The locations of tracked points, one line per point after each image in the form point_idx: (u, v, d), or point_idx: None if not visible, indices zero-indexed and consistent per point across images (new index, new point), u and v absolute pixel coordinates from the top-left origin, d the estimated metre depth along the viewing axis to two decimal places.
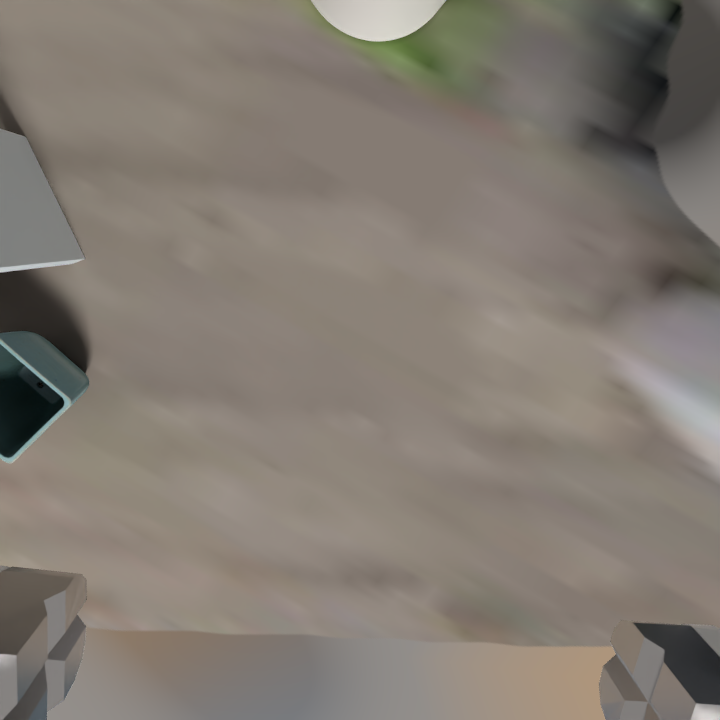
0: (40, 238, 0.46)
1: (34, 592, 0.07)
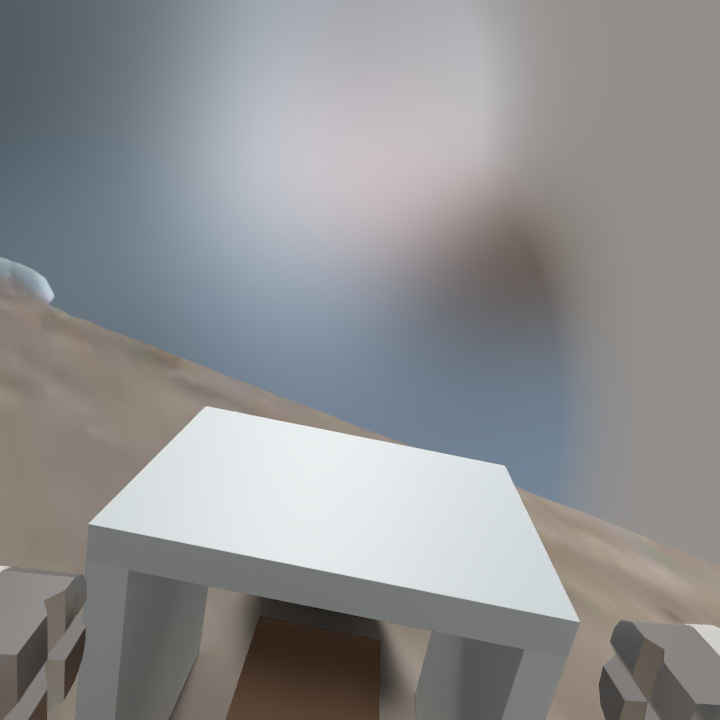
0: None
1: (34, 592, 0.07)
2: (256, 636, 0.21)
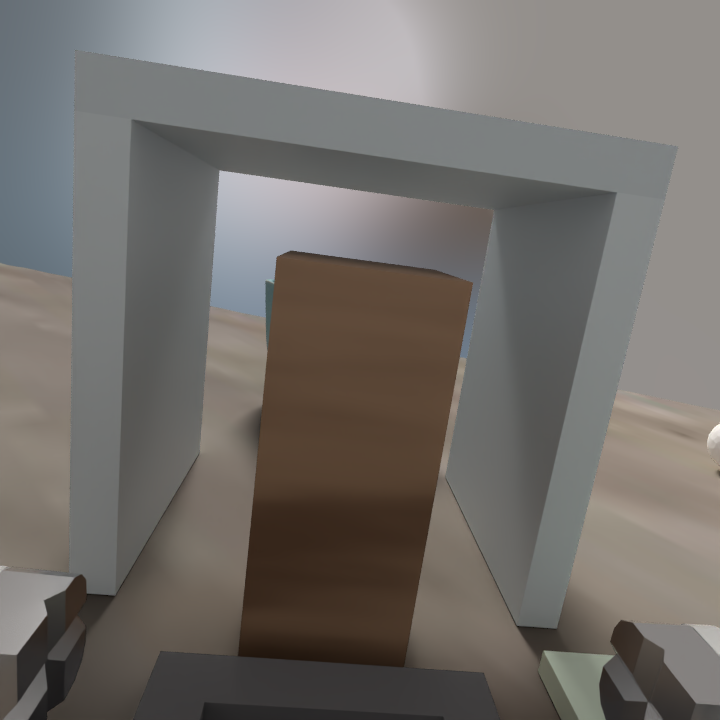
0: None
1: (34, 592, 0.07)
2: (292, 252, 0.17)
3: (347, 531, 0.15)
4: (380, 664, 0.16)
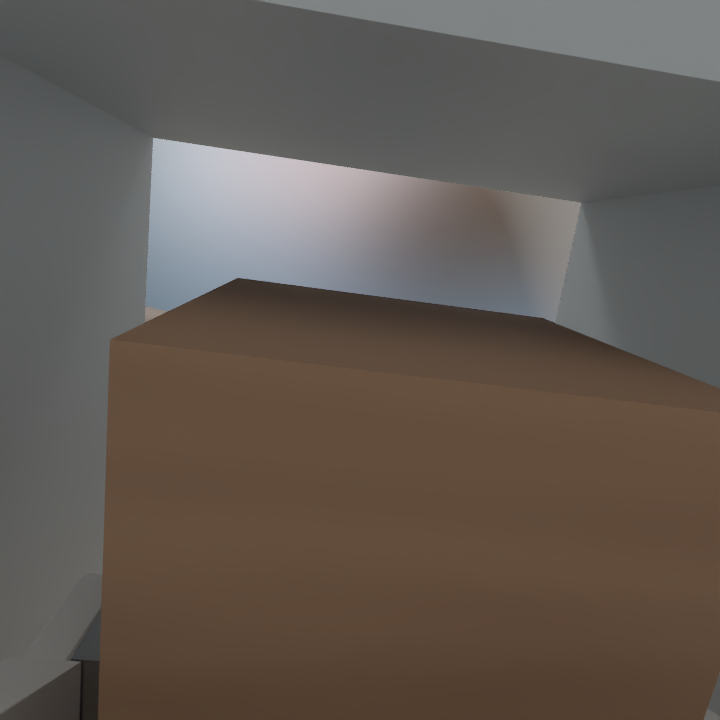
0: None
1: None
2: (233, 285, 0.07)
3: None
4: None
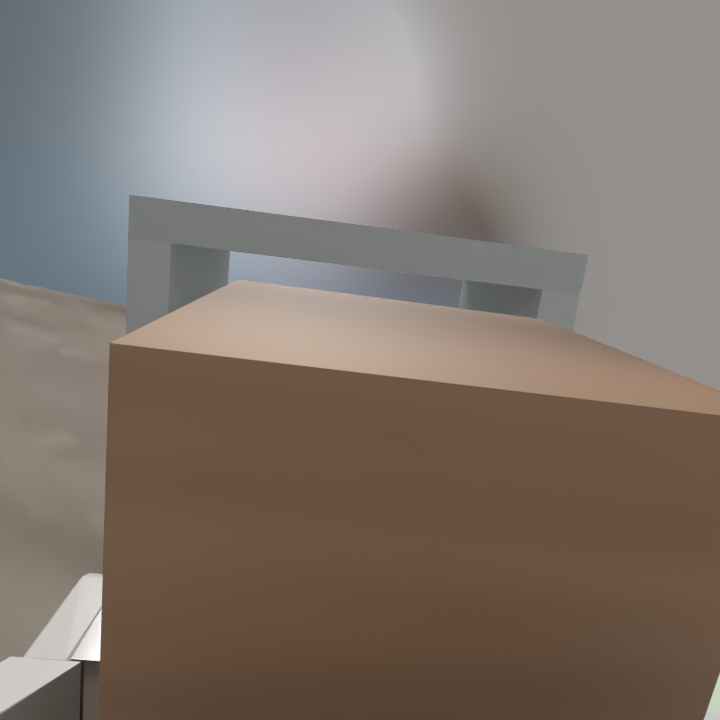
0: None
1: None
2: (233, 287, 0.07)
3: None
4: None
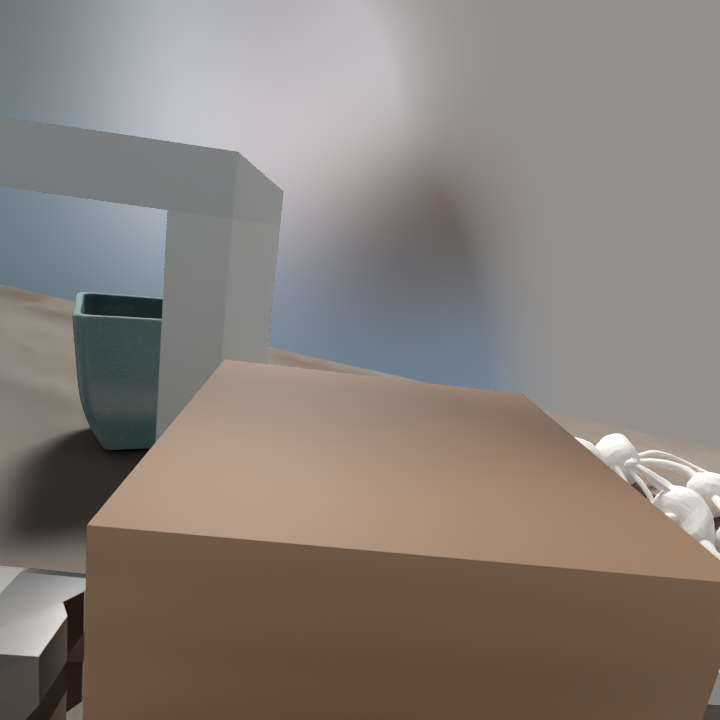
0: None
1: (53, 593, 0.07)
2: (219, 378, 0.08)
3: None
4: None
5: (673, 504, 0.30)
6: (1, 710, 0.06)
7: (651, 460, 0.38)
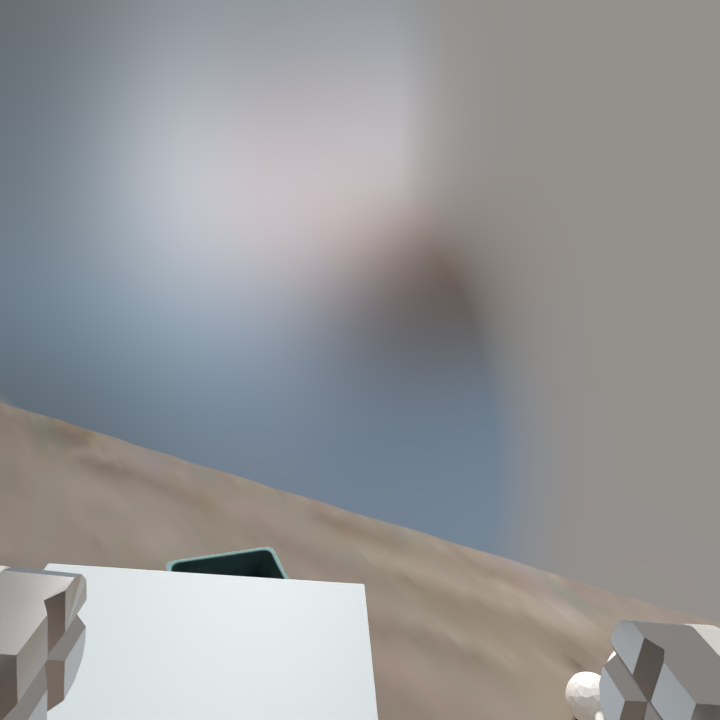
0: None
1: (34, 592, 0.07)
2: None
3: None
4: None
5: None
6: None
7: None
